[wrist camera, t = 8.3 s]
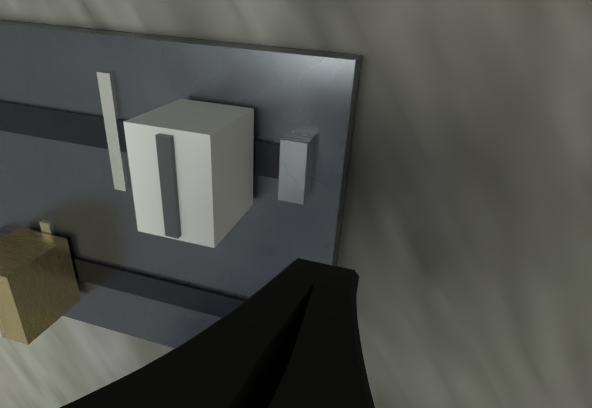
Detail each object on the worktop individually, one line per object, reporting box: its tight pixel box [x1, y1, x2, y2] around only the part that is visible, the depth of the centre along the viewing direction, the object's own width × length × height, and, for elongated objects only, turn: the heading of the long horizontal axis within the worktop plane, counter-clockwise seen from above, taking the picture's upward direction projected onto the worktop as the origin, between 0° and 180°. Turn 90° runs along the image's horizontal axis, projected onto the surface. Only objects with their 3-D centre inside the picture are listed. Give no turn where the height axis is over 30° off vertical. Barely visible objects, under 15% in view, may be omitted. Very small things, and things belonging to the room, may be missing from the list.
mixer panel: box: [0, 20, 362, 348], centre depth 20 cm, size 16×20×2 cm
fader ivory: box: [123, 99, 254, 248], centre depth 15 cm, size 4×3×4 cm
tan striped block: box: [0, 228, 81, 345], centre depth 21 cm, size 4×3×4 cm
